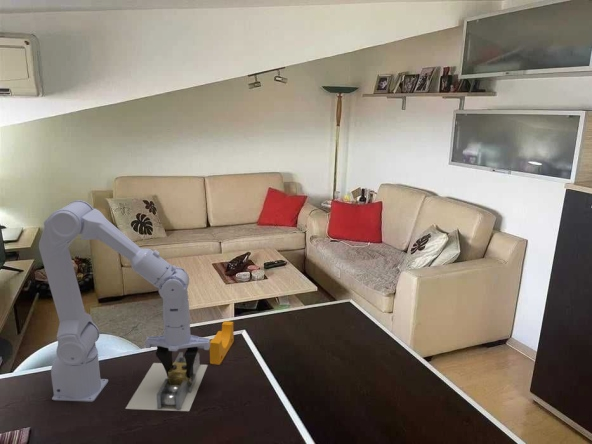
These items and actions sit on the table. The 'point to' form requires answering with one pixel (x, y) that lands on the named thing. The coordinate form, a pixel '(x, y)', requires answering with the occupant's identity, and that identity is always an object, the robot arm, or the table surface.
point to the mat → (152, 384)
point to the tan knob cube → (178, 374)
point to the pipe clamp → (221, 343)
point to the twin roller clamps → (177, 387)
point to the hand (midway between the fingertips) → (179, 374)
